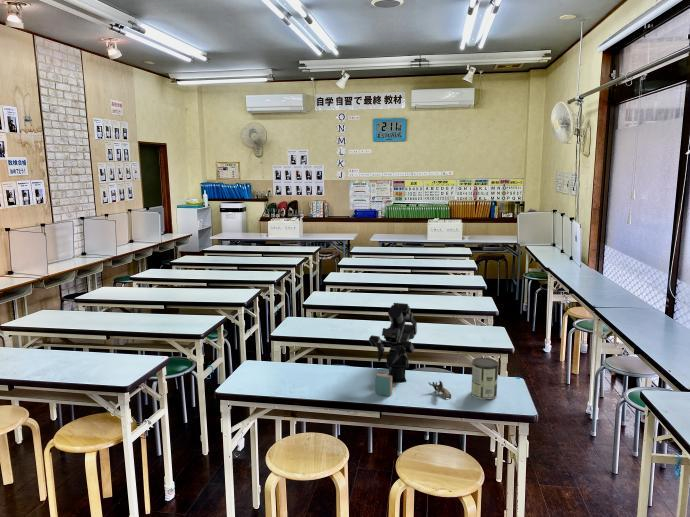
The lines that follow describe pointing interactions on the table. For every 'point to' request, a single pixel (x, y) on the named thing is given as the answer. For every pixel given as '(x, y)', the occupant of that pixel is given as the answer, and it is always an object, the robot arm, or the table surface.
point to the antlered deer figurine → (441, 389)
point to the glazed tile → (383, 384)
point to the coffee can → (484, 378)
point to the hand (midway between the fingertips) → (385, 362)
